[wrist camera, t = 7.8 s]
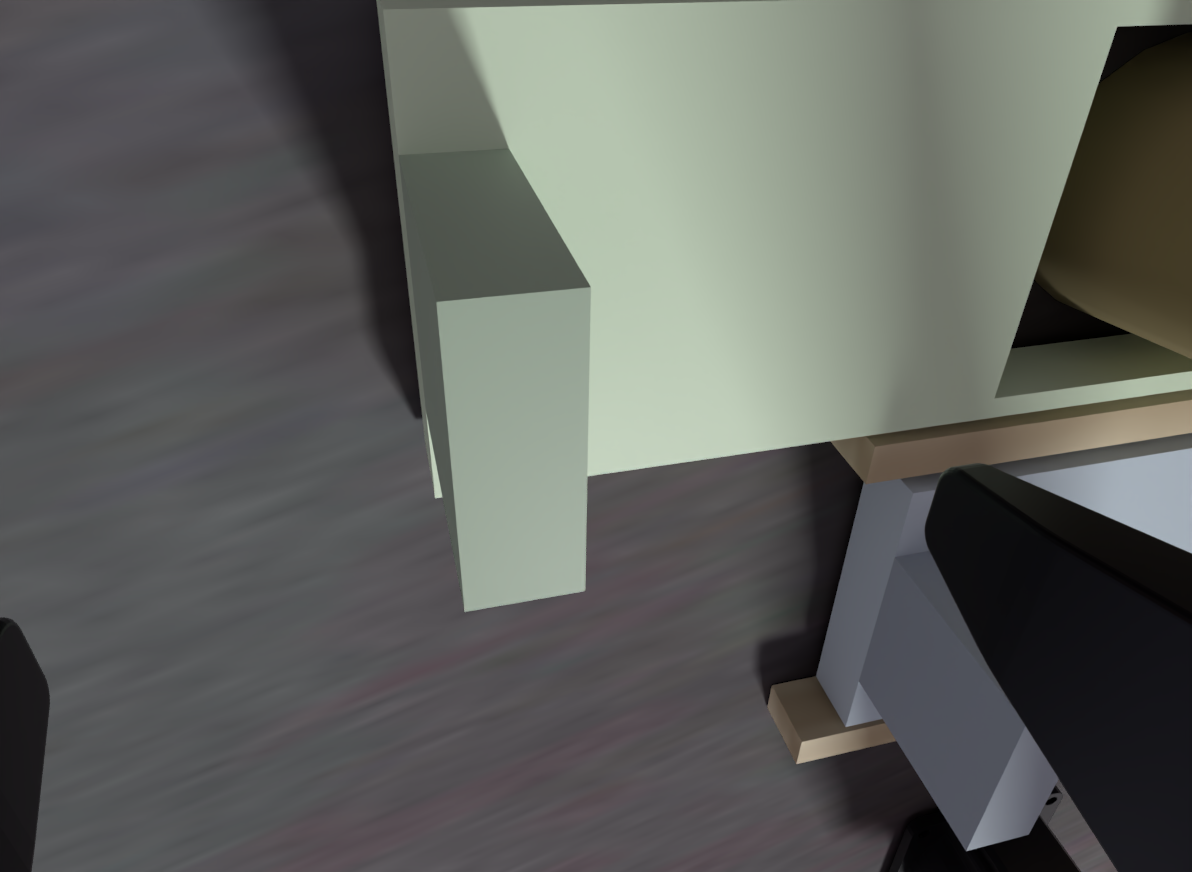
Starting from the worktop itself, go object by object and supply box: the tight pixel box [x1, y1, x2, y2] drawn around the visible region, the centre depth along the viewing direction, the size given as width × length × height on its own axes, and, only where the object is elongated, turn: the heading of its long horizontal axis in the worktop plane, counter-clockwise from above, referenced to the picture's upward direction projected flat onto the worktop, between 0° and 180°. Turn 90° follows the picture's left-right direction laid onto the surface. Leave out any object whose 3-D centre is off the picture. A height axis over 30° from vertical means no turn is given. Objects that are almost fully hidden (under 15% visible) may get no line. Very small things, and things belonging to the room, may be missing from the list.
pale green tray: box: [376, 0, 1192, 612], centre depth 15 cm, size 8×20×7 cm, turn 88°
